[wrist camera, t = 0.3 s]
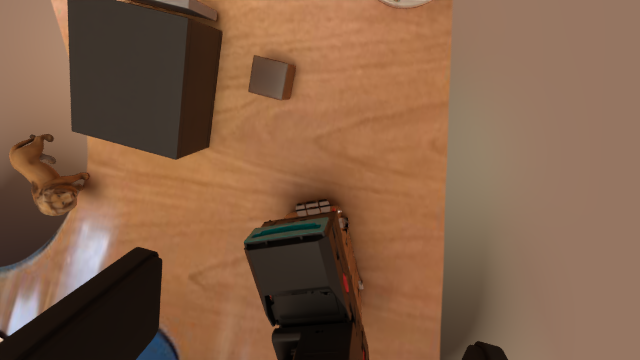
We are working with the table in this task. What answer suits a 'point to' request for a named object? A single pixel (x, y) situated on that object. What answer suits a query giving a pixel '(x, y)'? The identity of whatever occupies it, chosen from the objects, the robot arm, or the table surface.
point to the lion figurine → (45, 177)
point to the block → (271, 78)
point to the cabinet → (142, 76)
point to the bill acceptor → (309, 284)
